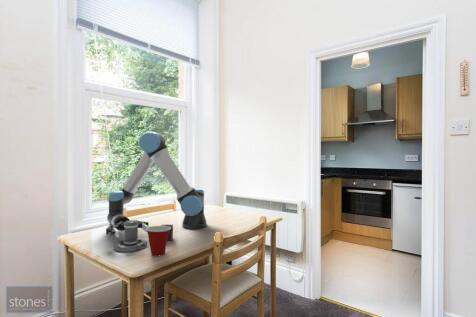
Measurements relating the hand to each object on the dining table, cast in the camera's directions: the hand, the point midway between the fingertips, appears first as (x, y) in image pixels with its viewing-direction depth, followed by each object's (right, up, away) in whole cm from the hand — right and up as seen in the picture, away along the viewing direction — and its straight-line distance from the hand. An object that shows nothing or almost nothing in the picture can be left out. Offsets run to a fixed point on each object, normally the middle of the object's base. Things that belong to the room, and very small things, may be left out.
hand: (133, 231), depth 123 cm
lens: (-2, -7, +3) cm, 8 cm away
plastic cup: (+14, -9, -6) cm, 17 cm away
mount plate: (-2, -8, +3) cm, 9 cm away
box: (+12, -8, +13) cm, 20 cm away
